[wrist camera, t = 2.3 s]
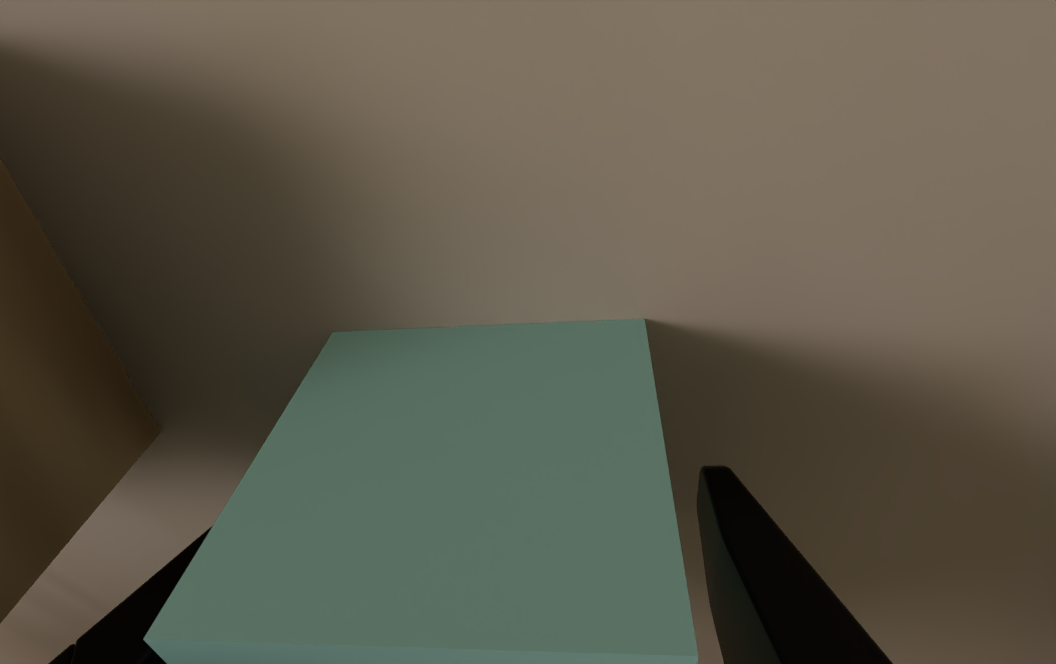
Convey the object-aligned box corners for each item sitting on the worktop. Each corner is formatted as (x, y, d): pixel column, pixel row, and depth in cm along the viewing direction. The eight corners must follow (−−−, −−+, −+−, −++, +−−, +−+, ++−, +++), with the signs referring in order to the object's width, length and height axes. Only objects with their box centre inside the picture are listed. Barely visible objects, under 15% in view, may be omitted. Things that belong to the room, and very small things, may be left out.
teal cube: (643, 315, 9) (697, 656, 5) (640, 519, 12) (672, 839, 7) (335, 328, 9) (142, 639, 5) (403, 519, 12) (314, 814, 8)
